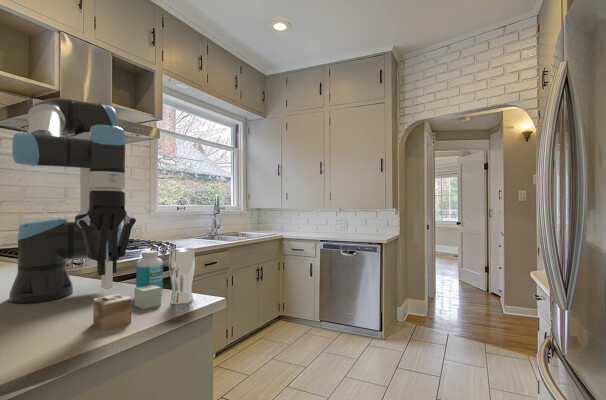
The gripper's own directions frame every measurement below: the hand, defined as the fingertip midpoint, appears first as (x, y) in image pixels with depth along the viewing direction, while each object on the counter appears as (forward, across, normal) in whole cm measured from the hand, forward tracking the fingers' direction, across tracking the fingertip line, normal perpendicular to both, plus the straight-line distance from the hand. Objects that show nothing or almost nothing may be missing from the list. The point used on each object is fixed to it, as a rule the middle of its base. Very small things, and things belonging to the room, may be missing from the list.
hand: (106, 287), depth 82 cm
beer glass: (+8, +20, 0) cm, 22 cm away
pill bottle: (+8, +17, +13) cm, 23 cm away
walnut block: (+2, 0, -3) cm, 4 cm away
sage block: (+8, +12, +4) cm, 15 cm away
